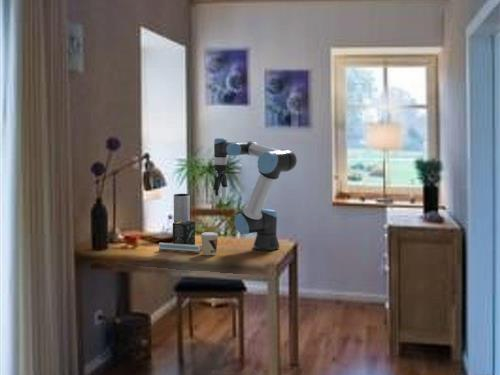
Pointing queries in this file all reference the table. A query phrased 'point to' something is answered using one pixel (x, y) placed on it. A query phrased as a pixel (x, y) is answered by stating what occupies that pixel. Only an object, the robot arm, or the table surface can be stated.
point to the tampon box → (184, 232)
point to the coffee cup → (209, 243)
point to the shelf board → (182, 250)
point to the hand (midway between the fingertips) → (220, 199)
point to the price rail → (179, 247)
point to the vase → (181, 207)
